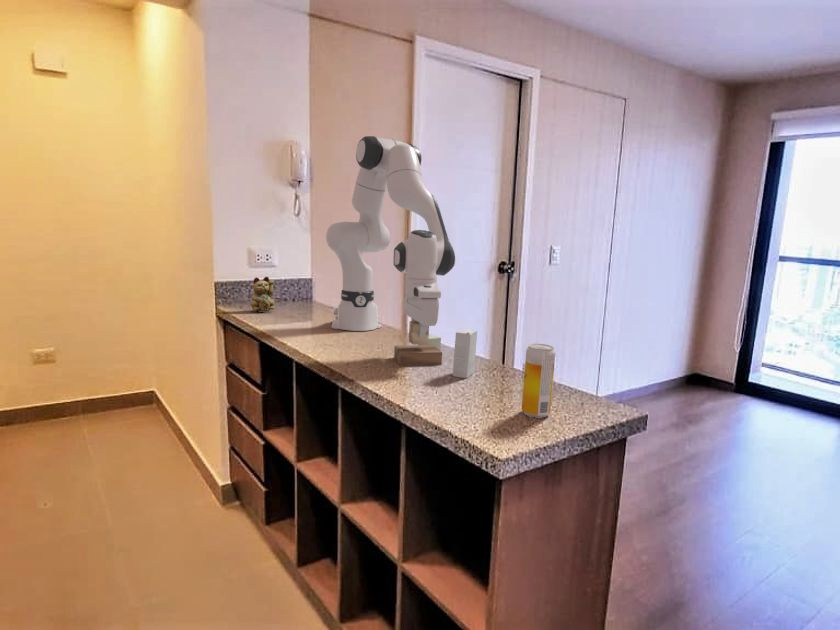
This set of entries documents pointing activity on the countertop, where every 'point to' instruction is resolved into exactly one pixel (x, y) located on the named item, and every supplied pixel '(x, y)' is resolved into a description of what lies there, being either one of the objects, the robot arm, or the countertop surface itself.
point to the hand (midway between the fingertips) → (418, 335)
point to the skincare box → (464, 353)
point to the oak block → (413, 334)
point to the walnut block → (417, 355)
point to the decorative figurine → (262, 295)
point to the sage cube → (434, 341)
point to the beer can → (538, 380)
